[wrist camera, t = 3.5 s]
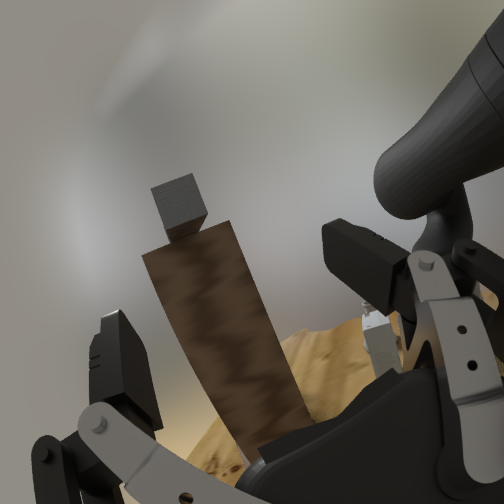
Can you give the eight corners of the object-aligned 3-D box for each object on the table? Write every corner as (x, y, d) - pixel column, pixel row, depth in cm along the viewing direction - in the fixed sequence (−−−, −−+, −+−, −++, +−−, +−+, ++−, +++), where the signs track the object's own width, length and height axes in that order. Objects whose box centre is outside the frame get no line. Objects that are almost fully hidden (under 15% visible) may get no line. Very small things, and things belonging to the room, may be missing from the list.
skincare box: (405, 387, 34) (392, 322, 33) (378, 395, 36) (362, 331, 35) (401, 366, 40) (388, 305, 39) (377, 373, 41) (361, 314, 41)
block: (195, 241, 43) (186, 218, 42) (213, 211, 18) (193, 160, 18) (173, 250, 42) (164, 227, 42) (160, 232, 17) (141, 180, 17)
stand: (289, 396, 46) (219, 232, 45) (329, 440, 31) (239, 215, 29) (230, 423, 43) (149, 260, 42) (251, 478, 28) (131, 258, 26)
